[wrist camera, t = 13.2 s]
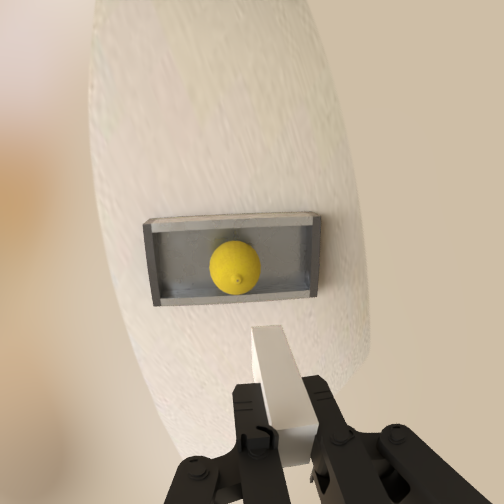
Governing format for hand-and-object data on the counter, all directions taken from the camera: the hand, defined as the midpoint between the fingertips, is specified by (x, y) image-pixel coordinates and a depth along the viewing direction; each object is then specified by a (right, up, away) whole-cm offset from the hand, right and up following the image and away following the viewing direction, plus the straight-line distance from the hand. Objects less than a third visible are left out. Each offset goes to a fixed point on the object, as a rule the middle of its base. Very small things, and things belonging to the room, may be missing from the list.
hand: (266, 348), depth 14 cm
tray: (-3, +5, +22) cm, 23 cm away
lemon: (-3, +4, +21) cm, 22 cm away
